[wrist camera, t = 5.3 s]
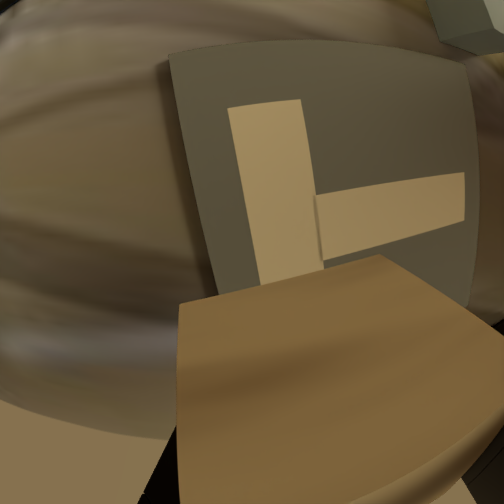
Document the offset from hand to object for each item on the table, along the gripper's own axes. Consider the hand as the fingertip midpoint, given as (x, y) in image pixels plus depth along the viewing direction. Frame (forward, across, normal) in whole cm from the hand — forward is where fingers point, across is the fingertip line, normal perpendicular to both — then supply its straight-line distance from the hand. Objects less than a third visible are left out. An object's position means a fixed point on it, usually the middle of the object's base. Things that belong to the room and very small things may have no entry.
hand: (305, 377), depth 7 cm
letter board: (+7, -7, -2) cm, 10 cm away
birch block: (+1, 0, 0) cm, 1 cm away
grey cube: (+7, -17, -15) cm, 24 cm away
